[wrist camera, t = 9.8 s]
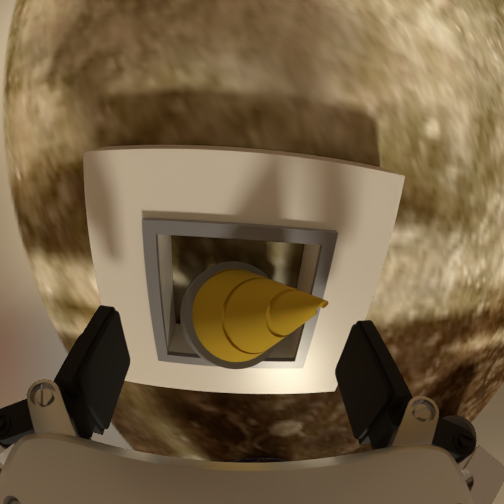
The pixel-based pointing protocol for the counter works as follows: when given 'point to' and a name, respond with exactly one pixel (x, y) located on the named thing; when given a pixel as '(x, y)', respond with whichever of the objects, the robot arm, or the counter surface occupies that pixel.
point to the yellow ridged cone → (241, 314)
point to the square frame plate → (236, 227)
